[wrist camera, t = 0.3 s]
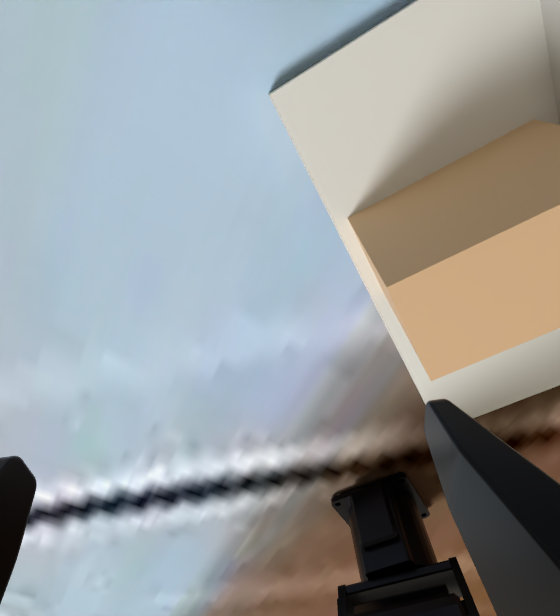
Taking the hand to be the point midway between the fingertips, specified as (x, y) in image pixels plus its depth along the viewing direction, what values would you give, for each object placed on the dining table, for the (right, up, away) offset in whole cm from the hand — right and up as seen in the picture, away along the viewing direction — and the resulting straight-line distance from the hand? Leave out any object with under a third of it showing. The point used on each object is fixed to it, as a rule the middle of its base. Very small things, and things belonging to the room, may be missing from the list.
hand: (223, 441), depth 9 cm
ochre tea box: (+10, +7, +11) cm, 17 cm away
